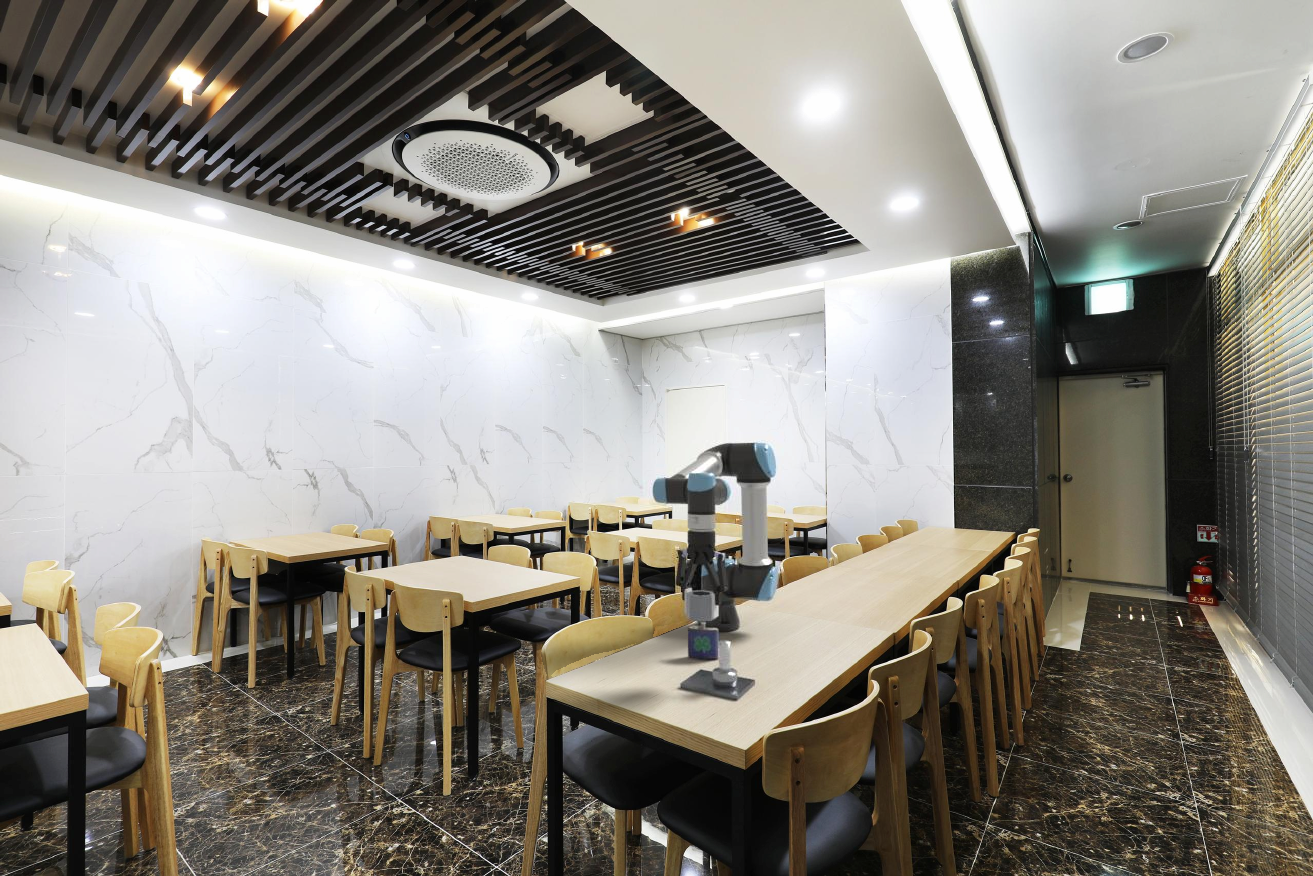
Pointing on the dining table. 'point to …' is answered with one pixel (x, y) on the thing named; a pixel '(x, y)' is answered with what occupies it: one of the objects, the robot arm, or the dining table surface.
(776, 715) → the dining table surface
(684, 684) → the shaft fixture
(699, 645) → the flask
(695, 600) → the tube
